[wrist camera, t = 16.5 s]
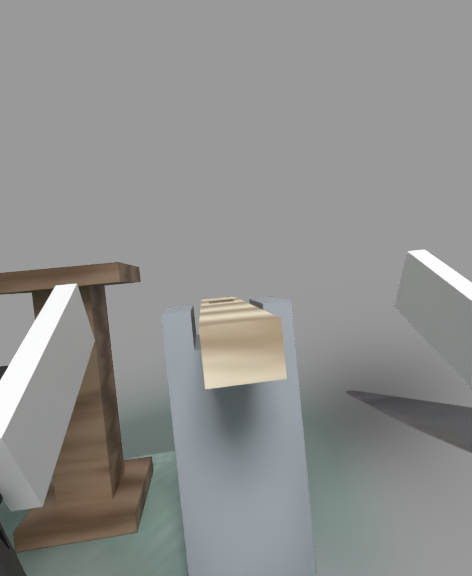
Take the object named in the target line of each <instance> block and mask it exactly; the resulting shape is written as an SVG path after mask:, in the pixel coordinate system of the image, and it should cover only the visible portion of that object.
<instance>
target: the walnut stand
mask: <svg viewBox="0 0 472 576" xmlns="http://www.w3.org/2000/svg"><path fill="white" fill-rule="evenodd" d="M139 273H140V272H139V267H136V266H132V265H127V264H123V263H119V262H115V263H106V264H93V265H83V266H73V267H62V268H50V269H39V270H28V271H17V272H7V273H0V294H15V293H30V292H31V293H32V297H33V306H34V314H35V320H36V318H37V317H38V315H39V313H40V312H41V310H42V308H43V306H44V305H45V303H46V301H47V300H48V298H49V296H50V294H51V293H52V291H53V289H54V288H55V286H56V285H66V284H76V283H77V285H78V288H79V291H80V294H81V298H82V301H83V304H84V307H85V310H86V314H87V317H88V320H89V323H90V326H91V330H92V333H93V336H94V339H95V342H94V345H93V348H92V352H91V355H90V358H89V361H88V364H87V368H86V371H85V374H84V377H83V380H82V383H81V387H80V390H79V393H78V396H77V399H76V402H75V406H74V409H73V412H72V415H71V418H70V422H69V425H68V428H67V431H66V434H65V437H64V441H63V444H62V447H61V450H60V453H59V456H58V460H57V463H56V466H55V469H54V472H53V481H52V482H51V484H50V485H49V488H48V491H47V495H46V498H45V501H44V504H43V507H38V508H32V509H31V510H30V511H29V513H28V514H27V515H26V517H25V518H24V519H23V521H22V522H21V523H20V525H19V526H18V527H17V529H16V530H15V531H14V533H13V534H14V542H15V551H16V552H20V551H26V550H32V549H38V548H44V547H51V546H57V545H63V544H69V543H75V542H81V541H87V540H94V539H100V538H106V537H112V536H118V535H124V534H130V533H137V531H138V527H139V523H140V519H141V516H142V512H143V508H144V504H145V500H146V496H147V493H148V489H149V485H150V481H151V477H152V473H153V464H152V457H145V458H138V459H131V460H124V461H123V453H122V444H121V434H120V425H119V416H118V408H117V407H118V406H117V397H116V389H115V379H114V370H113V361H112V353H111V352H112V351H111V342H110V334H109V324H108V315H107V306H106V297H105V287H104V285H114V284H124V283H134V282H140V274H139Z"/></svg>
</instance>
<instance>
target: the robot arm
mask: <svg viewBox="0 0 472 576" xmlns="http://www.w3.org/2000/svg"><path fill="white" fill-rule="evenodd" d="M394 307H395V308H396V309H397V310H398V311H399V312H400V314H402V316H403V317H404V318H405V319H406V320H407V321H408V322H409V323H410V324H411V325H412V326H413V327H414V329H416V331H417V332H418V333H419V334H420V335H421V336H422V337H423V338H424V339H425V340H426V341H427V342H428V344H429V345H430V346H431V347H432V348H433V349H434V350H435V351H436V352H437V353H438V354H439V355H440V356H441V357H442V359H444V361H445V362H446V363H447V364H448V365H449V366H450V367H451V368H452V369H453V370H454V371H455V372H456V373H457V375H458V376H459V377H461V379H462V380H463V381H464V382H465V383H466V384H467V385H468V386H469V387H470V388H471V389H472V283H471V282H470V281H469V280H467V279H466V278H464V277H463V276H461V275H460V274H459V273H457V272H456V271H454V270H453V269H451V268H450V267H449V266H447V265H446V264H444V263H443V262H442V261H440V260H439V259H437V258H436V257H435V256H433V255H432V254H430V253H429V252H427V251H426V250H416V251H408V252H407V255H406V259H405V264H404V267H403V272H402V276H401V280H400V284H399V288H398V293H397V297H396V301H395V305H394ZM94 342H95V339H94V336H93V333H92V330H91V326H90V323H89V320H88V317H87V314H86V310H85V307H84V304H83V301H82V298H81V294H80V291H79V288H78V285H77V283H76V284H66V285H56V286H55V288H54V289H53V291H52V293H51V294H50V296H49V298H48V300H47V301H46V303H45V305H44V306H43V308H42V310H41V312H40V313H39V315H38V317H37V318H36V320H35V322H34V323H33V325H32V327H31V329H30V330H29V332H28V334H27V335H26V337H25V339H24V341H23V342H22V344H21V346H20V347H19V349H18V351H17V353H16V354H15V356H14V358H13V360H12V361H11V363H10V365H9V366H1V367H0V504H1V502H2V500H3V501H4V502H5V504H6V505H7V507H8V508H9V510H10V511H11V512H12V511H19V510H25V509H31V508H38V507H43V504H44V501H45V498H46V495H47V491H48V488H49V485H50V482H51V479H52V475H53V472H54V469H55V466H56V463H57V460H58V456H59V453H60V450H61V447H62V444H63V441H64V437H65V434H66V431H67V428H68V425H69V422H70V418H71V415H72V412H73V409H74V406H75V402H76V399H77V396H78V393H79V390H80V387H81V383H82V380H83V377H84V374H85V371H86V368H87V364H88V361H89V358H90V355H91V352H92V348H93V345H94ZM0 576H26V574H25V572H24V570H23V568H22V566H21V564H20V562H19V560H18V558H17V556H16V554H15V552H14V550H13V548H12V546H11V544H10V542H9V540H8V538H7V536H6V534H5V532H4V530H3V528H2V526H1V524H0Z"/></svg>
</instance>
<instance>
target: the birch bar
mask: <svg viewBox="0 0 472 576" xmlns="http://www.w3.org/2000/svg"><path fill="white" fill-rule="evenodd" d="M199 334H200V344H201V353H202V363H203V373H204V383H205V389H212V388H220V387H228V386H235V385H243V384H251V383H259V382H267V381H275V380H283V379H287V375H286V364H285V354H284V344H283V333H282V323H281V318H280V317H278V316H276V315H273V314H271V313H269V312H267V311H265V310H262V309H260V308H258V307H256V306H254V305H251V304H249V303H247V302H245V301H243V300H241V299H238V298H236V297H225V298H216V299H206V300H201V309H200V320H199Z"/></svg>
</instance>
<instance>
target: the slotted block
mask: <svg viewBox="0 0 472 576" xmlns="http://www.w3.org/2000/svg"><path fill="white" fill-rule="evenodd" d="M249 301H250V304H251V305H254V306H256V307H258V308H260V309H262V310H265V311H267V312H269V313H271V314H273V315H276V316H278V317H280V318H281V323H282V333H283V344H284V354H285V364H286V375H287V379H283V380H275V381H267V382H259V383H251V384H243V385H235V386H228V387H220V388H212V389H205V383H204V373H203V363H202V353H201V344H200V335H196V329H195V318H194V308H193V305H186V306H177V307H170V308H169V309H168V310H166V311H165V312H164V313H162V314H161V319H162V328H163V338H164V347H165V356H166V366H167V375H168V385H169V395H170V404H171V414H172V423H173V433H174V442H175V452H176V461H177V471H178V480H179V490H180V499H181V509H182V518H183V528H184V537H185V547H186V556H187V566H188V575H189V576H317V570H316V560H315V549H314V539H313V529H312V519H311V508H310V499H309V498H310V497H309V487H308V477H307V466H306V455H305V445H304V436H303V435H304V434H303V424H302V415H301V403H300V394H299V382H298V372H297V361H296V351H295V340H294V330H293V320H292V309H291V301H290V300H285V299H280V298H275V297H262V298H253V299H249Z"/></svg>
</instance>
